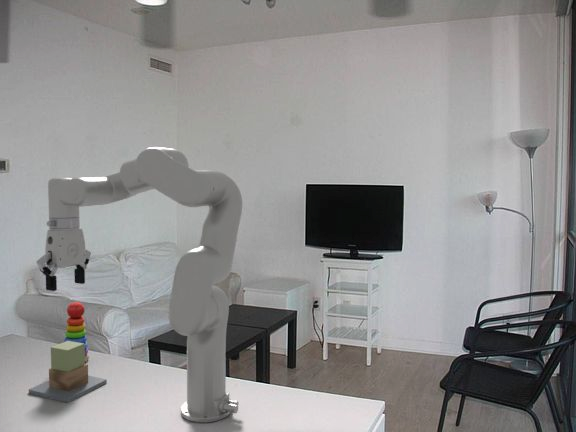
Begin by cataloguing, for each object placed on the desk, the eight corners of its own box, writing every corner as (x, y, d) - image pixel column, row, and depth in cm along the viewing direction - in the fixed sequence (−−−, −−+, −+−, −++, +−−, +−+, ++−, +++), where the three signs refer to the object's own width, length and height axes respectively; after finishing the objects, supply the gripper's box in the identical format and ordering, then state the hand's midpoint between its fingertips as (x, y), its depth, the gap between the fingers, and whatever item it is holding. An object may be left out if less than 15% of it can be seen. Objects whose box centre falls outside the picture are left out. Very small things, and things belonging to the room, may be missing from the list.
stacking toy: (70, 367, 157) (69, 307, 156) (56, 361, 162) (55, 302, 161) (94, 360, 164) (92, 302, 162) (80, 354, 168) (78, 298, 167)
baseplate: (106, 382, 146) (106, 379, 146) (67, 402, 134) (67, 399, 133) (69, 374, 152) (69, 371, 152) (28, 393, 139) (28, 389, 139)
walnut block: (88, 381, 144) (87, 364, 144) (68, 391, 138) (67, 373, 138) (69, 377, 147) (69, 360, 147) (49, 386, 141) (48, 368, 141)
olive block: (84, 364, 144) (84, 343, 143) (68, 372, 138) (67, 350, 138) (68, 361, 146) (67, 340, 146) (51, 368, 141) (50, 347, 140)
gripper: (48, 227, 130) (50, 294, 131) (98, 221, 145) (100, 282, 147) (26, 226, 133) (28, 291, 134) (78, 220, 148) (80, 279, 150)
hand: (66, 286), depth 140 cm, fingers open, 9 cm apart
